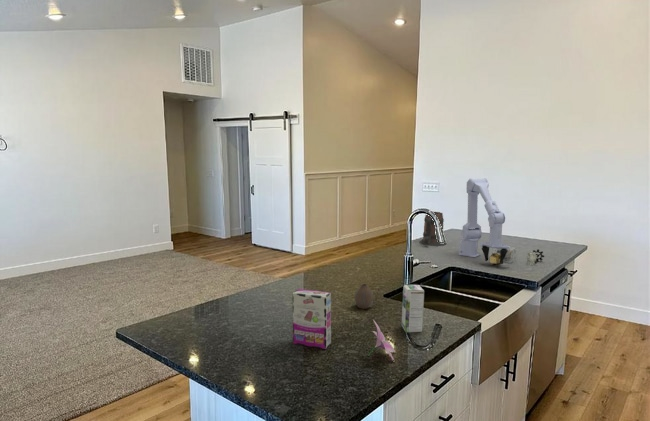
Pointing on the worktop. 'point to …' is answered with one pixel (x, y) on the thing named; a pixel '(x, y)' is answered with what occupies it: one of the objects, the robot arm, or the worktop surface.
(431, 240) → the tankard
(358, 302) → the vase
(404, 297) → the syrup box
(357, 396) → the worktop surface
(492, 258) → the gold rounded block
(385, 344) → the lily
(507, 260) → the housing
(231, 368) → the worktop surface
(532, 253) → the valve
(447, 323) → the worktop surface
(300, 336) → the candy bar box
